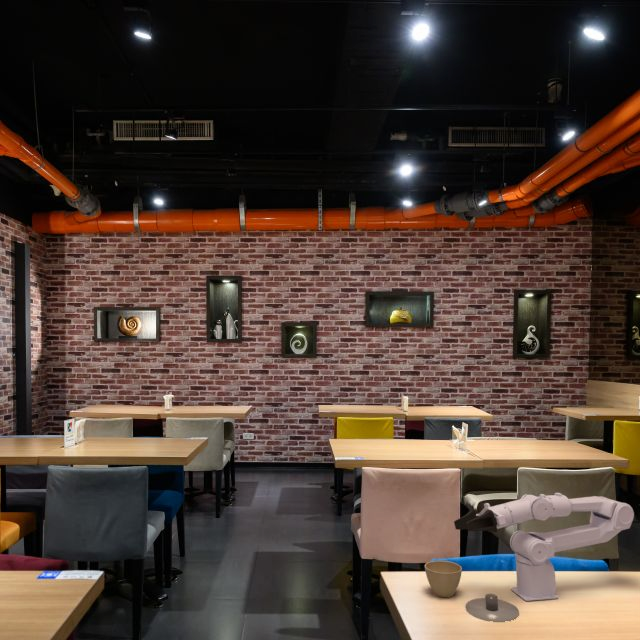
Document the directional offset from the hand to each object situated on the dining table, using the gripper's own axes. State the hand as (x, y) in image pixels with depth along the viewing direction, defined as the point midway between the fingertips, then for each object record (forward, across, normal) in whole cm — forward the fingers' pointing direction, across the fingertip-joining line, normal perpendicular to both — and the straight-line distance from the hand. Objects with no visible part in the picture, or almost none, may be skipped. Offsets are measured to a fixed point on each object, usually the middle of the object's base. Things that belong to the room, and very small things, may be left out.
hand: (461, 526), depth 141 cm
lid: (-1, +2, +21) cm, 21 cm away
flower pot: (+6, -10, +17) cm, 21 cm away
